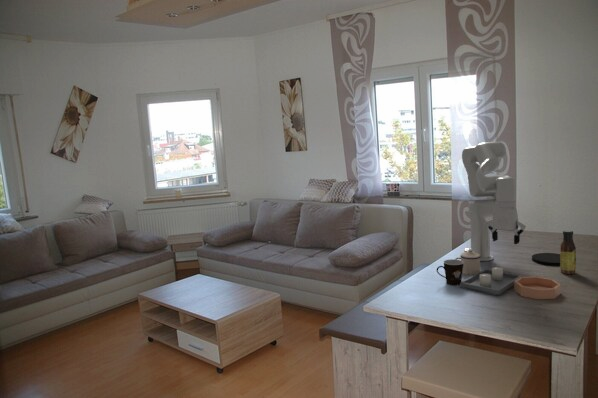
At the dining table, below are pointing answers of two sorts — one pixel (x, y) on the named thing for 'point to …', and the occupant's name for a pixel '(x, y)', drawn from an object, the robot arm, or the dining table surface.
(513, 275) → the parts tray
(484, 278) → the pebble
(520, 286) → the bowl
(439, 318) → the dining table surface
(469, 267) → the teacup with lid
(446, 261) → the coffee mug
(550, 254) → the wireless charger
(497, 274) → the pebble
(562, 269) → the sauce bottle
